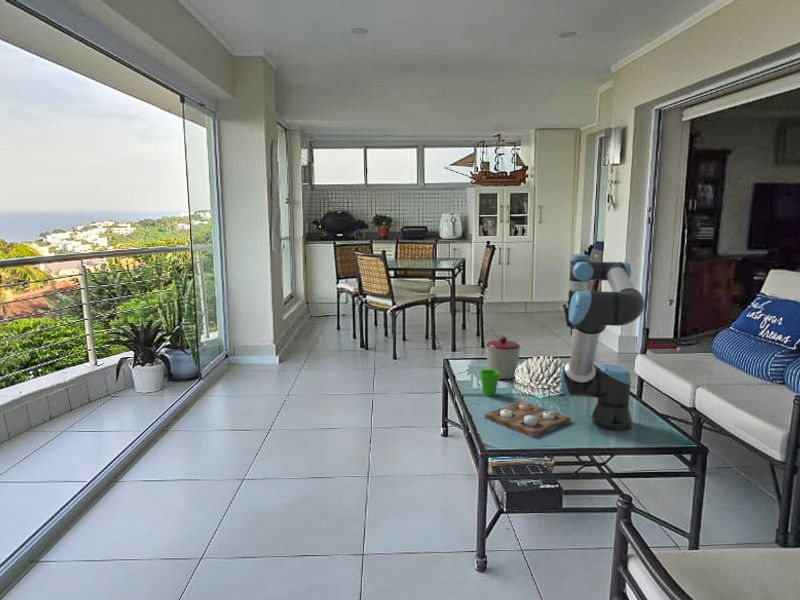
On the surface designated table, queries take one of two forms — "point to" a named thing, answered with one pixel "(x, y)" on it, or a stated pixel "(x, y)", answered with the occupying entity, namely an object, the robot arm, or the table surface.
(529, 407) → the button three
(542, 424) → the panel
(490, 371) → the cup
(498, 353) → the canister
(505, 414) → the button one
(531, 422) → the button blank
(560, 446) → the table surface
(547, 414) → the button two
